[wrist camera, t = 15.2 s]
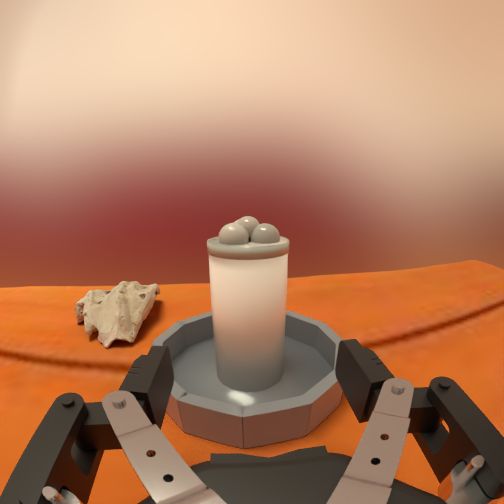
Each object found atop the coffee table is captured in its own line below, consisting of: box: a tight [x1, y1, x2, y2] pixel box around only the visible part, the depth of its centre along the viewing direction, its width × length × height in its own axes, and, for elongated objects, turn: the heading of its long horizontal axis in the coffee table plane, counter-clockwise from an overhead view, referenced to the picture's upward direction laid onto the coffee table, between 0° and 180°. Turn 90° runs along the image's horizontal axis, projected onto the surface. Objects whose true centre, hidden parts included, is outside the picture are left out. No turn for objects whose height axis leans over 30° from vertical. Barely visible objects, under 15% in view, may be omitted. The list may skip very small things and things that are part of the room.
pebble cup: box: [207, 216, 289, 392], centre depth 22 cm, size 6×6×14 cm
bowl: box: [152, 311, 343, 449], centre depth 24 cm, size 17×17×4 cm
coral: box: [75, 281, 160, 348], centre depth 35 cm, size 15×12×5 cm
